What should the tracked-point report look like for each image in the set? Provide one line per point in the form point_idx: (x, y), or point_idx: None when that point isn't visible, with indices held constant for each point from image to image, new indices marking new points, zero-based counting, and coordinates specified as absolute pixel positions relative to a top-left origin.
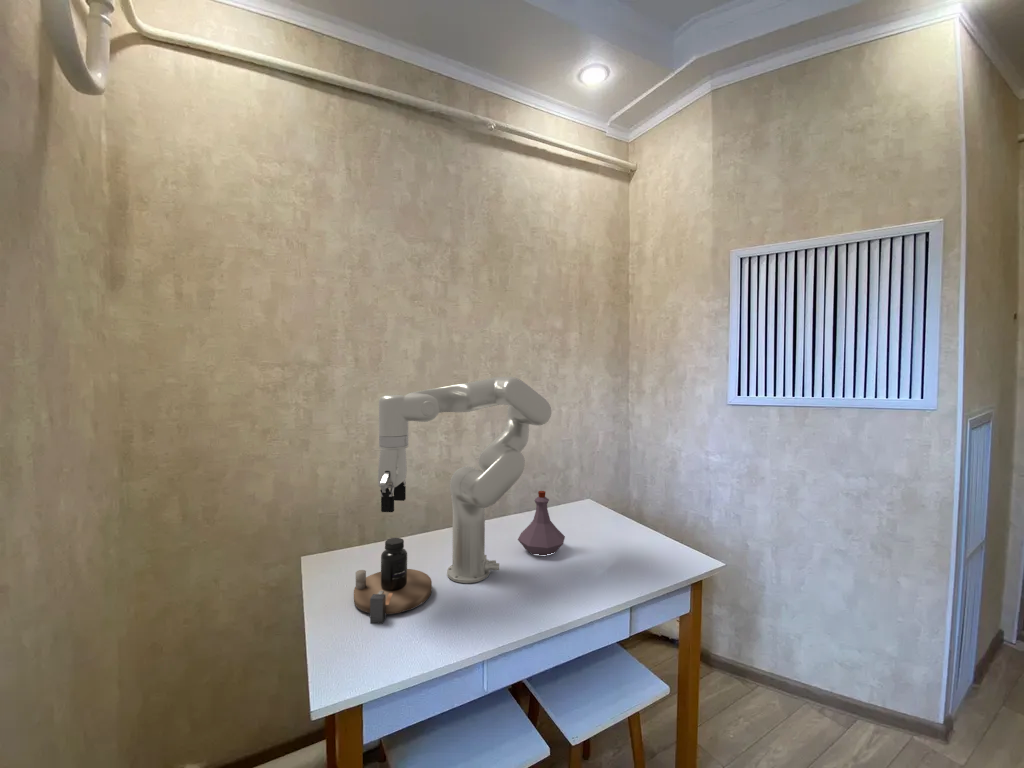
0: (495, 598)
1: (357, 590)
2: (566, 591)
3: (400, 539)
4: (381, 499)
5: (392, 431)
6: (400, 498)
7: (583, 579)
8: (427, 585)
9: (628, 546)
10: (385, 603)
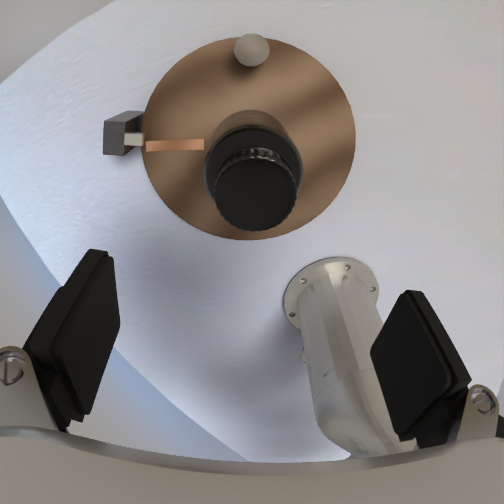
0: (220, 334)
1: (229, 48)
2: (236, 404)
3: (270, 218)
4: (44, 321)
5: None
6: (383, 342)
7: (268, 420)
8: (240, 231)
9: (345, 450)
10: (131, 149)
